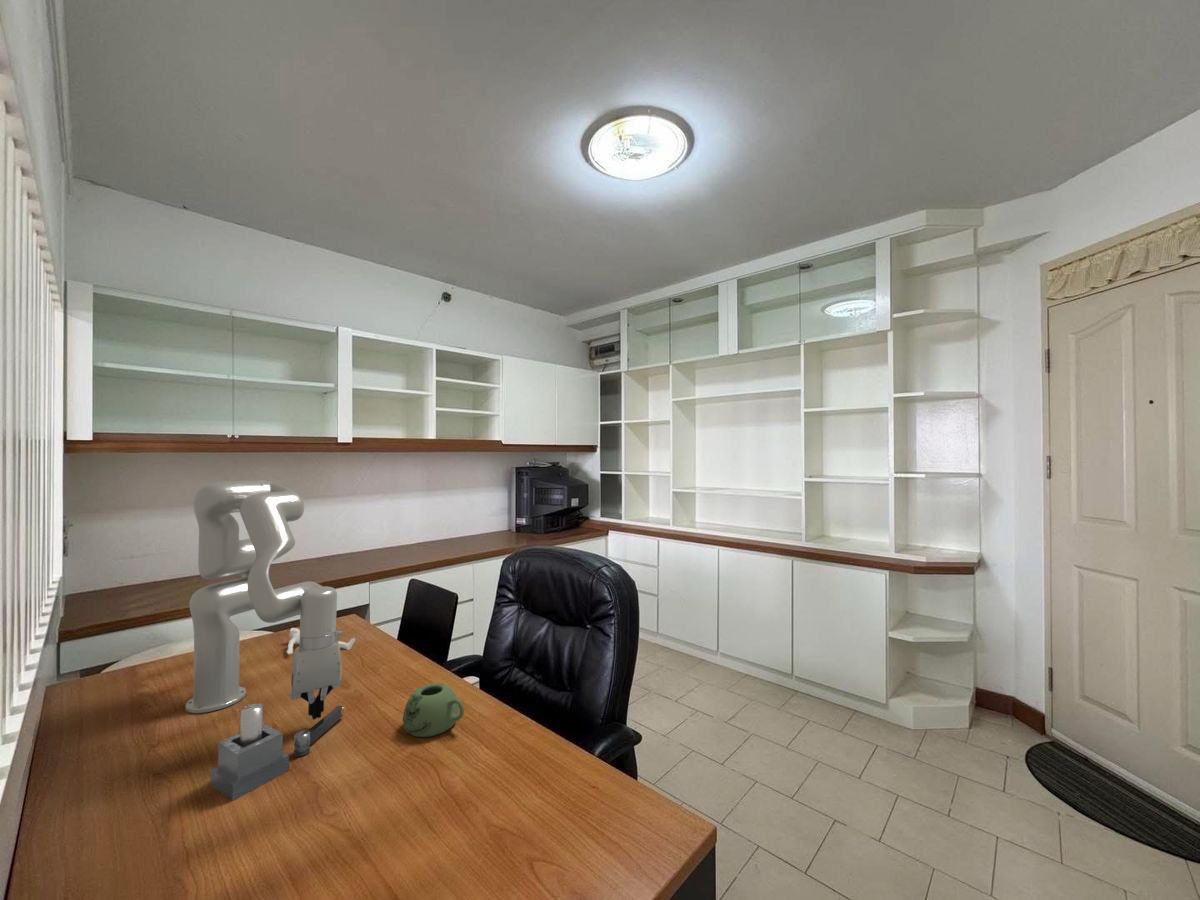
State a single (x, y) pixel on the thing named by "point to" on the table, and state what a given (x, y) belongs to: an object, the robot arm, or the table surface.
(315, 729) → the lever
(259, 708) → the rod
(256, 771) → the block
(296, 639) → the figurine
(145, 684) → the table surface
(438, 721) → the mug
